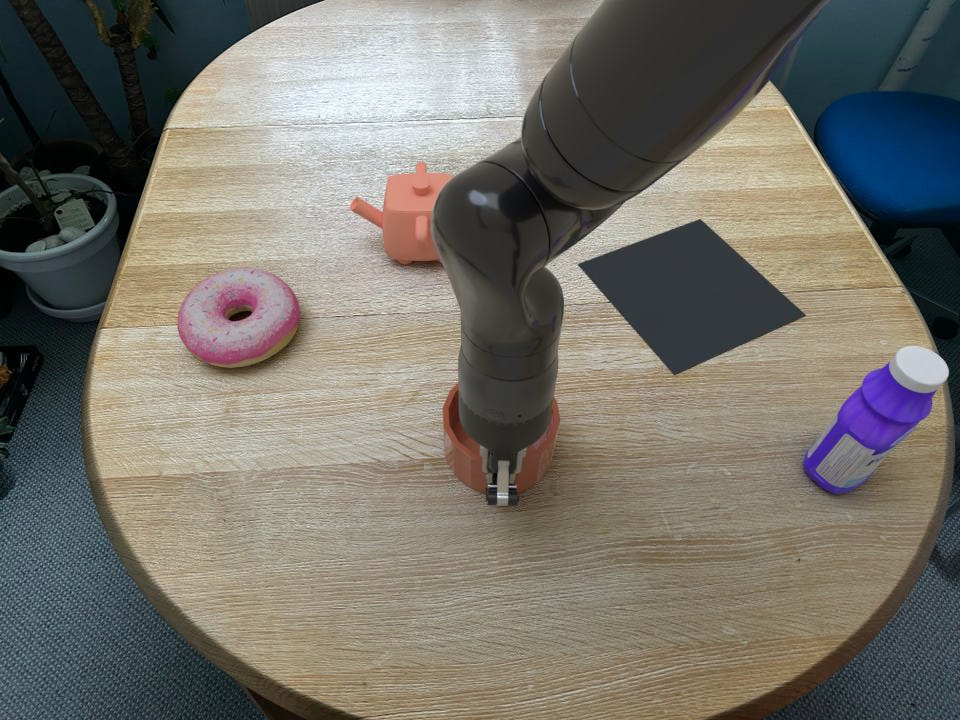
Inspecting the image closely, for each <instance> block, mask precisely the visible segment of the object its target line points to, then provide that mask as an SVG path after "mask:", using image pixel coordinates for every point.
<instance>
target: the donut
mask: <svg viewBox="0 0 960 720" xmlns="http://www.w3.org/2000/svg"><path fill="white" fill-rule="evenodd" d="M243 312H251V314H250V315H249V316H247V317H246V318H244V319H241V320H235V321H234V320H233V321H232V320H230V318H231V317H232V316H234V315H236V314H238V313H243ZM301 316H302V313H301V308H300V304H299V299H298V297H297V295H296V294H295V292H294V291H293V289H292V288H291V287H290V285H289V284H288V283H286V282H285V281H284V280H282V279H281V278H280V277H279V276H278V275H276V274H274V273H272V272H270V271H268V270H265V269H260V268H257V267H233V268H228V269H224V270H221V271H218V272H216V273H213V274H212V275H210V276H208V277H205V278H204V279H203V280H202V281H200V282H199V283H198V284H196V285H195V286H194V287H193V288H192V289H191V290H190V291H189V293H187V295H186V296H185V298H183V301H181V304H180V308H179V311H178V315H177V323H176V324H177V325H176V326H177V327H176V329H177V332H178V335H179V338H180V340H181V342H182V343H183V345H184V347H185V349H187V351H188V352H189V353H190V354H192V355H193V356H194V357H195V358H197V359H199V360H201V361H202V362H204V363H207V364H209V365H212V366H215V367H219V368H229V369H235V368H243V367H247V366H251V365H255V364H258V363H260V362H263V361H265V360H267V359H269V358H271V357H273V356H274V355H276V354H277V353H279V352H280V351H282V350H283V349H284V348H285V347H286V346H287V345H288V344H289V343H290V342H291V340H292V339H293V338H294V337H295V335H296V332H297V330H298V328H299V325H300V322H301Z"/></svg>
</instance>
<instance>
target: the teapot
mask: <svg viewBox="0 0 960 720" xmlns="http://www.w3.org/2000/svg"><path fill="white" fill-rule="evenodd" d="M414 167H415V168H414V169H415V172H409V173H407V172H406V173H399V174H398V173H397V174H392V175H390V176H388V178H387V180H386V184H385V189H384V190H385V192H384V198H383V203H382V204H383V205H382V210H380V209H378V208H377V207H375V206H373V205H372V204H370V203H368V202H367V201H365V200H364V199H362V198H361V197H359V196H356V197H354V199H353V200H352V202H351V203H350V205H349V211H351V212H352V213H354V214H356V215H358V216H359V217H361V218H363V219H365V220H366V221H367V222H370V223H371V224H373V225H375V226H376V227H378V228H380V229H381V230H382V241H383V242H382V245H383V249H384V251H385V254H386V255H387V257H388V258H389V259H392V260H396V261H397V262H398V263H399V264H401V265H410V264H411V263H412V262H430V261H431V262H432V261H437V262H438V263H440V264H442V262H441V260H440V258H439V255H438V253H437V251H436V248H435V246H434V243H433V240H432V236H431V230H430V222H431V215H432V210H433V206H434V203H435V201H436V198H437V196H438V194H439V192H440V190H441V189H442V188H443V186H444V185H445V184H446V183H447V182H448V181H449V180H450V179H451V178H453V177H454V176H455V175H453V174H450V173H444V172H428V166H427V164H426V163H425V162H424V161H418V162H416V163H415V166H414Z"/></svg>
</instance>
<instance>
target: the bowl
mask: <svg viewBox="0 0 960 720" xmlns="http://www.w3.org/2000/svg"><path fill="white" fill-rule="evenodd" d="M442 423H443V424H442V426H443V427H442V428H443V442H444V443H443V444H444V457H445V459H446V462H447V464H448V467H449V468H450V470H451V472H452V473H453V474H454V475H455V477H456V478H457V480H459V481H460V482H462V484H464V485H465V486H467V487H469V488H471V489H472V490H474V491H476V492H480V493H483V494H485V495H487V493H486V488H487V484H488V483H487V479H486V473H485V472H483V471H482V458H483V457H482V456H480V444H478V443H476V442H475V441H474V440H473V439H472V438H470V437H469V435H468V434H467V433H466V432H465V430H464V428H463V427H462V424H461V422H460V418H459V394H458V382H457V383H456V384H455V385H454V386H453V387H452V388H451V389H450V390H449V392H448V394H447V397H446V399H445V401H444V404H443V405H442ZM560 424H561V416H560V411H559V404H558V400H557V399H556V397H554V399H553V404H552V410H551V416H550V422H549V425H548V427H547V429H546V431H545V433H544V434H543V435H542V436H541V437H540V438H539V439H538V440H537V441H536V442H535V443H533V444H532V445H530V446H528V447H527V450H526V456H525V457H524V458H523V459H522V466H521V472H520V473H517V474H516V480H514V484H517V492H518V494H519V493H521V492H524V491H526V490H528V489H531V488H532V487H533V486H535V485H536V484H537V483H538V482H540V480H541V479H543V478H544V476H545V475H546V473H548V470H549V469H550V467H551V464H552V461H553V457H554V453H555V451H556V446H557V440H558V435H559V430H560Z"/></svg>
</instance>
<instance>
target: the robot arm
mask: <svg viewBox="0 0 960 720" xmlns="http://www.w3.org/2000/svg"><path fill="white" fill-rule="evenodd" d="M831 1H832V0H603V1H602V2H601V3H600V5H599V6H598V7H597V8H596V10H595V11H594V12H593V13H592V15H591V16H589V18H588V20H587V21H586V22H585V24H583V26H582V27H581V29H580V30H578V33H577V34H576V35H575V36H574V37H573V39H572V40H571V42H570V43H569V44H568V46H567V47H566V48H565V49H564V51H563V52H562V53H561V55H560V56H559V57H558V59H557V60H556V61H555V63H554V64H553V65H552V67H551V68H550V69H549V71H548V72H547V73H546V75H545V76H544V77H543V78H542V79H541V81H540V83H539V84H538V86H537V87H536V89H535V91H534V92H533V94H532V96H531V97H530V99H529V101H528V104H527V106H526V108H525V111H524V113H523V117H522V121H521V127H520V136H519V137H518V138H516V139H515V140H513V141H512V142H510V143H509V144H507V145H505V146H504V147H502V148H500V149H497V150H496V151H495V152H493V153H491V154H489V155H488V156H486V157H484V158H482V159H481V160H479V161H477V162H476V163H475V164H472V165H471V166H469V167H466V168H465V169H464V170H462V171H460V172H458V173H457V174H455V175H453V176H454V177H453V178H451V179H450V180H449V181H448V182H447V183H446V184H445V185H444V186H443V188H442V189H441V190H440V192H439V194H438V196H437V198H436V201H435V203H434V206H433V210H432V215H431V222H430V230H431V236H432V240H433V243H434V246H435V248H436V251H437V253H438V255H439V258H440V260H441V262H442V263H441V264H442V266H443V269H444V270H445V273H446V275H447V279H448V280H449V282H450V286H451V289H452V292H453V294H454V297H455V299H456V302H457V305H458V308H459V310H460V345H459V346H460V347H459V352H458V358H457V383H458V394H459V418H460V422H461V424H462V427H463V428H464V430H465V432H466V433H467V434H468V435H469V437H470V438H472V439H473V440H474V441H475V442H476V443H478V444H480V456H482V457H483V458H482V471H483V472H485V473H486V479H487V483H488V484H487V488H486V493H487V494H486V493H485V501H486V503H487V506H497V507H499V506H500V507H501V506H502V507H505V506H506V507H518V503H519V502H520V495H518V494H519V493H518V492H517V484H514V480H516V474H517V473H520V472H521V466H522V459H523V458H524V457H525V456H526V450H527V447H528V446H530V445H532V444H533V443H535V442H536V441H537V440H538V439H539V438H540V437H541V436H542V435H543V434H544V433H545V431H546V429H547V427H548V425H549V422H550V416H551V410H552V404H553V399H554V398H555V392H556V386H557V382H558V374H559V347H560V346H559V345H560V339H561V334H562V328H563V322H564V313H565V298H564V294H563V293H564V292H563V288H562V286H561V284H560V281H559V280H558V278H557V277H556V276H555V274H554V273H553V272H552V271H551V270H550V269H548V268H547V267H546V266H548V265H549V264H550V263H552V262H553V261H555V260H556V259H557V258H559V257H560V256H561V255H562V254H564V253H565V252H567V251H568V250H569V249H571V248H572V247H574V246H576V245H577V244H578V243H580V242H581V241H582V240H583V239H585V238H586V237H587V236H589V235H590V234H591V233H592V232H594V231H595V230H596V229H597V228H598V227H600V226H601V225H602V224H603V223H604V222H606V221H607V220H608V219H610V217H611V216H613V214H615V213H616V212H617V211H618V210H619V209H620V208H621V207H622V206H623V205H624V204H625V203H626V202H627V201H629V200H631V199H633V198H634V197H636V196H638V195H639V194H641V193H642V192H644V191H646V190H647V189H648V188H649V187H651V186H652V185H654V184H655V183H657V182H658V181H659V180H660V179H662V178H663V177H664V176H666V175H667V174H668V173H670V172H671V171H672V170H673V169H675V168H676V167H677V166H679V165H680V164H681V163H682V162H684V161H685V160H686V159H688V158H689V157H690V156H692V155H693V154H695V153H696V152H697V151H698V150H699V149H701V148H702V147H704V146H705V145H706V144H707V143H709V141H711V140H712V139H713V138H714V137H715V136H716V135H718V134H719V133H720V132H722V130H724V129H725V128H726V127H727V126H728V125H729V124H730V123H731V122H733V120H735V119H736V117H738V116H739V115H740V114H741V113H742V112H743V111H744V110H745V109H746V108H747V107H748V106H749V105H750V104H751V102H753V100H755V98H756V97H757V96H758V95H759V94H760V93H761V91H762V90H763V89H764V88H765V87H766V86H767V84H768V83H769V81H771V79H772V78H773V77H774V75H775V74H776V72H778V70H779V68H780V67H781V65H783V63H784V62H785V60H786V59H787V58H788V56H789V54H790V53H791V52H792V50H793V49H794V47H795V46H796V45H797V43H798V42H799V41H800V39H801V38H802V37H803V35H804V34H805V32H807V29H809V27H811V25H812V24H813V23H814V21H815V20H816V19H817V18H818V16H820V14H821V13H822V12H823V10H825V8H826V7H827V5H829V3H830V2H831Z"/></svg>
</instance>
